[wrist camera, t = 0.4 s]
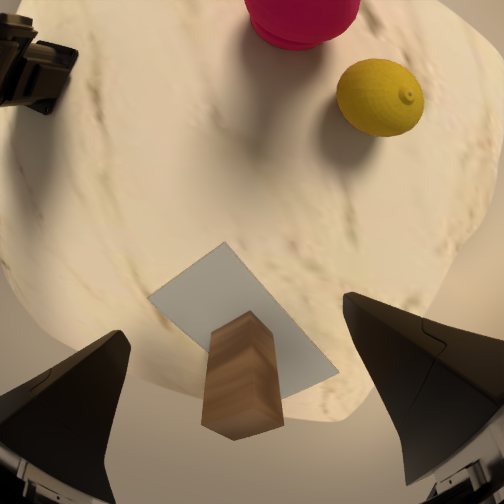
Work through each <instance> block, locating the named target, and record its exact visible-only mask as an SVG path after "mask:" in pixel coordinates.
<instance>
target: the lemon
mask: <svg viewBox="0 0 504 504" xmlns="http://www.w3.org/2000/svg"><path fill="white" fill-rule="evenodd" d="M336 95H337V102H338V105H339V108H340V111H341V112H342V114H343V115H344V117H345V118H346V119H347V120H348V121H349V123H350V124H351V125H352V126H354V127H355V128H357V129H359V130H360V131H362V132H364V133H367V134H370V135H372V136H380V137H391V136H396V135H400V134H403V133H405V132H407V131H409V130H411V129H412V128H413V127H414V126H415V125H416V124H417V123H418V121H419V120H420V118H421V116H422V113H423V109H424V97H423V92H422V89H421V87H420V84H419V83H418V81H417V79H416V78H415V77H414V76H413V75H412V73H411V72H410V71H409V70H407V69H406V68H405V67H403V66H402V65H400V64H398V63H395V62H392V61H390V60H385V59H368V60H363V61H359V62H357V63H355V64H354V65H352V66H350V67H349V68H348V69H347V70H346V71H345V72H344V73H343V74H342V76H341V78H340V80H339V82H338V85H337V92H336Z"/></svg>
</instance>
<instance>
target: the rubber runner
mask: <svg viewBox="0 0 504 504" xmlns="http://www.w3.org/2000/svg"><path fill="white" fill-rule="evenodd" d="M147 299H148V300H149V301H150V302H151V303H152V304H153V305H154V306H155V307H156V308H157V309H158V310H159V311H161V312H162V313H163V314H164V315H165V316H166V317H167V318H168V319H169V320H171V321H172V322H173V323H174V324H175V325H176V326H177V327H178V328H180V329H181V330H182V331H183V332H184V333H185V334H186V335H188V336H189V337H190V338H191V339H192V340H194V341H195V342H196V343H197V344H198V345H200V346H201V347H202V348H203V349H204V350H206V351H207V352H208V353H209V348H210V340H211V332H213V331H214V330H216V329H218V328H220V327H222V326H223V325H225V324H227V323H229V322H230V321H232V320H234V319H236V318H237V317H239V316H241V315H243V314H244V313H246V312H248V311H250V310H251V311H252V312H253V314H254V315H255V316H256V317H257V318H258V319H259V320H260V321H261V322H262V323H263V324H264V325H265V326H266V327H267V328H268V329H269V330H270V331H271V332H272V333H273V337H274V345H275V353H276V361H277V369H278V377H279V386H280V394H281V399H284V398H286V397H288V396H291V395H293V394H295V393H298V392H300V391H302V390H305V389H307V388H309V387H311V386H313V385H315V384H318V383H320V382H322V381H324V380H326V379H328V378H330V377H332V376H334V375H336V374H338V373H339V371H338V370H337V369H336V368H335V366H334V365H333V364H332V363H331V362H330V361H329V360H328V359H327V358H326V356H325V355H324V354H323V353H322V352H321V351H320V350H319V349H318V347H317V346H316V345H315V344H314V343H313V342H312V341H311V340H310V339H309V337H308V336H307V335H306V334H305V333H304V332H303V331H302V330H301V328H300V327H299V326H298V325H297V324H296V323H295V322H294V320H293V319H292V318H291V317H290V316H289V315H288V314H287V313H286V311H285V310H284V309H283V308H282V307H281V306H280V305H279V303H278V302H277V301H276V300H275V299H274V298H273V297H272V295H271V294H270V293H269V292H268V291H267V290H266V289H265V287H264V286H263V285H262V284H261V283H260V282H259V281H258V279H257V278H256V277H255V276H254V275H253V274H252V272H251V271H250V270H249V269H248V268H247V267H246V266H245V264H244V263H243V262H242V261H241V260H240V259H239V257H238V256H237V255H236V254H235V253H234V252H233V250H232V249H231V248H230V247H229V246H228V245H227V244H226V242H223V243H222V244H221V245H219V246H218V247H216V248H215V249H214V250H212V251H211V252H209V253H208V254H207V255H205V256H204V257H202V258H201V259H200V260H198V261H197V262H195V263H194V264H193V265H191V266H190V267H188V268H187V269H186V270H184V271H183V272H182V273H180V274H179V275H177V276H176V277H175V278H173V279H172V280H171V281H169V282H168V283H166V284H165V285H164V286H162V287H161V288H160V289H158V290H157V291H156V292H154V293H153V294H151V295H150V296H149V297H148V298H147Z"/></svg>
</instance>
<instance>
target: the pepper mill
mask: <svg viewBox="0 0 504 504" xmlns="http://www.w3.org/2000/svg"><path fill="white" fill-rule="evenodd" d="M244 1H245V4H246V7H247V10H248V12H249V13H250V17H251V22H252V25H253V28H254V29H255V31H256V32H257V33H258V35H259V36H260V37H261V38H263V39H264V40H265V41H267V42H268V43H270V44H272V45H274V46H276V47H279V48H282V49H286V50H297V51H298V50H306V49H310V48H313V47H315V46H317V45H319V44H320V43H321V42H323V41H327V40H331V39H333V38H335V37H337V36H339V35H341V34H342V33H343V32H344V31H346V30H347V28H348V27H349V26H350V25H351V24H352V22H353V21H354V20H355V18H356V15H357V13H358V10H359V5H360V0H244Z"/></svg>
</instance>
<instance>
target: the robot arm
mask: <svg viewBox="0 0 504 504" xmlns="http://www.w3.org/2000/svg"><path fill="white" fill-rule="evenodd" d="M32 22H33V19H31V18H29V17H25V16H21V15H17V14H10V13H0V107H8V106H18V105H25V106H27V107H29V108H31V109H33V110H35V111H37V112H40V113H42V114H44V115H49V114H51V112H52V110H53V108H54V105H55V103H56V100H57V98H58V95H59V93H60V90H61V88H62V86H63V84H64V81H65V79H66V77H67V75H68V73H69V71H70V69H71V67H72V65H73V63H74V61H75V59H76V57H77V55H78V50H76V49H72V48H69V47H65V46H61V45H58V44H54V43H49V42H45V41H41V40H39V41H37V42H36V44H34V43H31V42H32V40H33V38H35V37H36V35H37V34H38V32H37V31H35V30H33V29H34V28H33V26H32ZM73 52H74V54H73V55H72V53H73ZM47 109H48V112H47ZM343 315H344V318H345V321H346V324H347V326H348V329H349V332H350V335H351V337H352V340H353V343H354V345H355V347H356V349H357V351H358V353H359V355H360V357H361V359H362V361H363V363H364V365H365V367H366V369H367V371H368V372H369V374H370V376H371V378H372V380H373V382H374V384H375V386H376V388H377V390H378V392H379V394H380V396H381V398H382V401H383V402H384V405H385V407H386V409H387V411H388V413H389V415H390V417H391V419H392V421H393V423H394V426H395V428H396V430H397V432H398V435H399V437H400V441H401V446H402V453H403V462H404V471H405V481H406V485H407V486H408V485H411V484H413V483H415V482H417V481H420V480H422V479H424V478H426V477H428V476H430V475H432V474H434V476H435V479H436V483H435V485H434V487H433V488H432V490H431V492H430V494H429V496H428V498H427V500H426V501H424V502H422V503H420V504H504V341H503V340H499V339H495V338H491V337H487V336H483V335H480V334H476V333H472V332H469V331H465V330H461V329H457V328H454V327H450V326H447V325H444V324H441V323H438V322H435V321H431V320H429V319H426V318H424V317H423V318H422V317H420V316H417V315H415V314H412V313H409V312H407V311H404V310H401V309H399V308H396V307H393V306H391V305H388V304H385V303H382V302H380V301H377V300H374V299H372V298H369V297H366V296H364V295H361V294H358V293H356V292H349V293H345V294H344V295H343ZM130 351H131V345H130V343H129V341H128V339H127V338H126V336H125V335H124V333H123V332H122V331H121V330H113V331H111V332H110V333H108V334H106V335H105V336H103V337H101V338H100V339H98V340H96V341H95V342H93V343H91V344H90V345H88V346H87V347H85V348H83V349H82V350H80V351H78V352H77V353H75V354H73V355H72V356H70V357H69V358H67V359H65V360H64V361H62V362H60V363H59V364H57V365H55V366H54V367H52V368H50V369H48V370H47V371H45V372H43V373H42V374H40V375H38V376H37V377H35V378H33V379H31V380H30V381H28V382H26V383H24V384H22V385H20V386H18V387H16V388H14V389H13V390H11V391H9V392H7V393H5V394H3V395H1V396H0V504H92V502H93V499H95V500H98V501H101V502H104V503H107V504H116V502H115V499H114V496H113V493H112V490H111V487H110V484H109V480H108V477H107V474H106V470H105V466H104V458H105V452H106V448H107V444H108V439H109V435H110V431H111V427H112V423H113V419H114V415H115V412H116V408H117V404H118V400H119V397H120V393H121V389H122V387H123V383H124V380H125V376H126V372H127V367H128V361H129V356H130Z"/></svg>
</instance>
